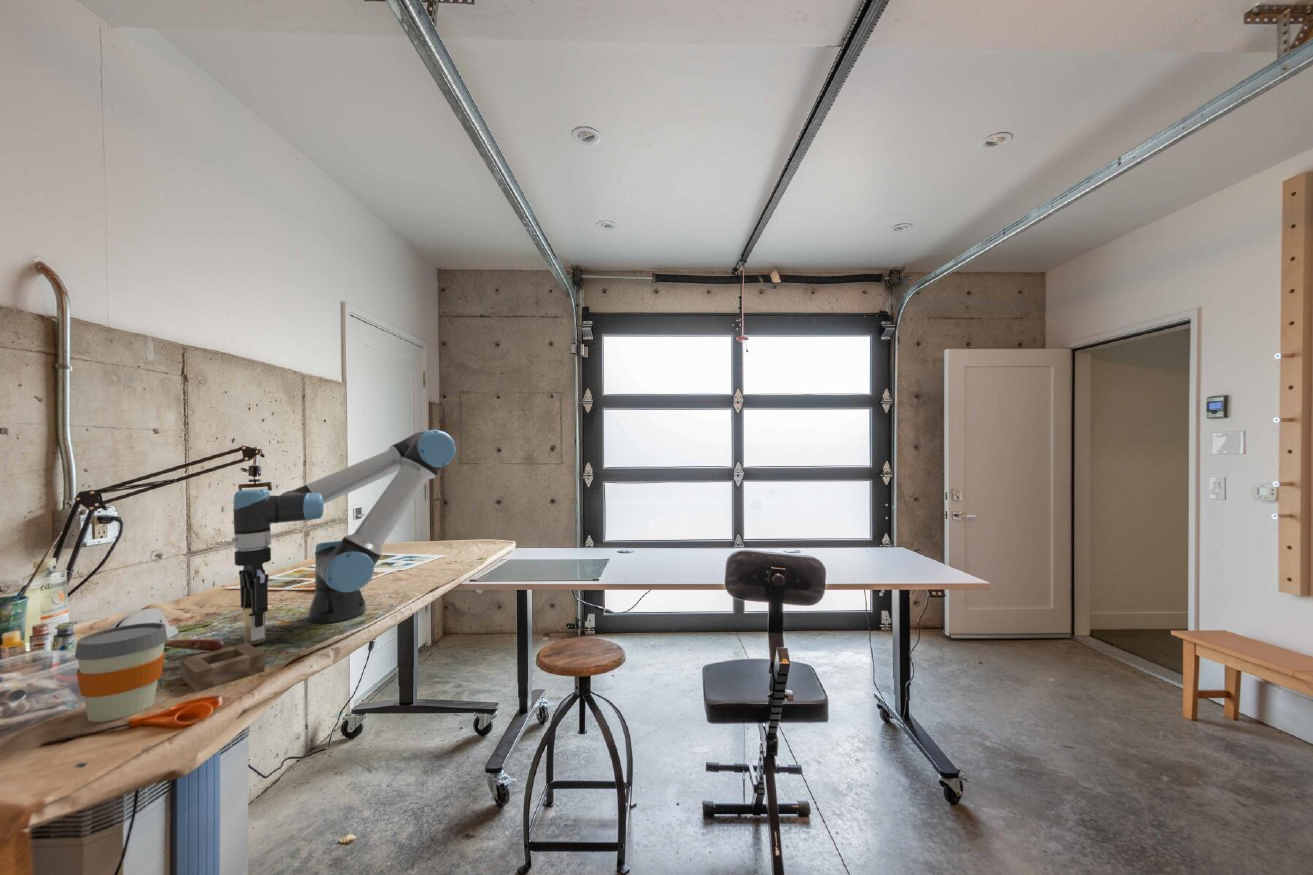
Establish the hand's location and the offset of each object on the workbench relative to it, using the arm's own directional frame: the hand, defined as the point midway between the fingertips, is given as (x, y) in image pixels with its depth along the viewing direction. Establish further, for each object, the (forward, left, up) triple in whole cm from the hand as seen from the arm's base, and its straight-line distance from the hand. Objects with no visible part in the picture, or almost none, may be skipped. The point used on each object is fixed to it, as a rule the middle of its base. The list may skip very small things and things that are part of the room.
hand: (254, 636), depth 133 cm
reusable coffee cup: (+27, +20, -2) cm, 33 cm away
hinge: (+17, -26, -2) cm, 31 cm away
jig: (+11, +16, -2) cm, 19 cm away
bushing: (0, 0, -1) cm, 1 cm away
